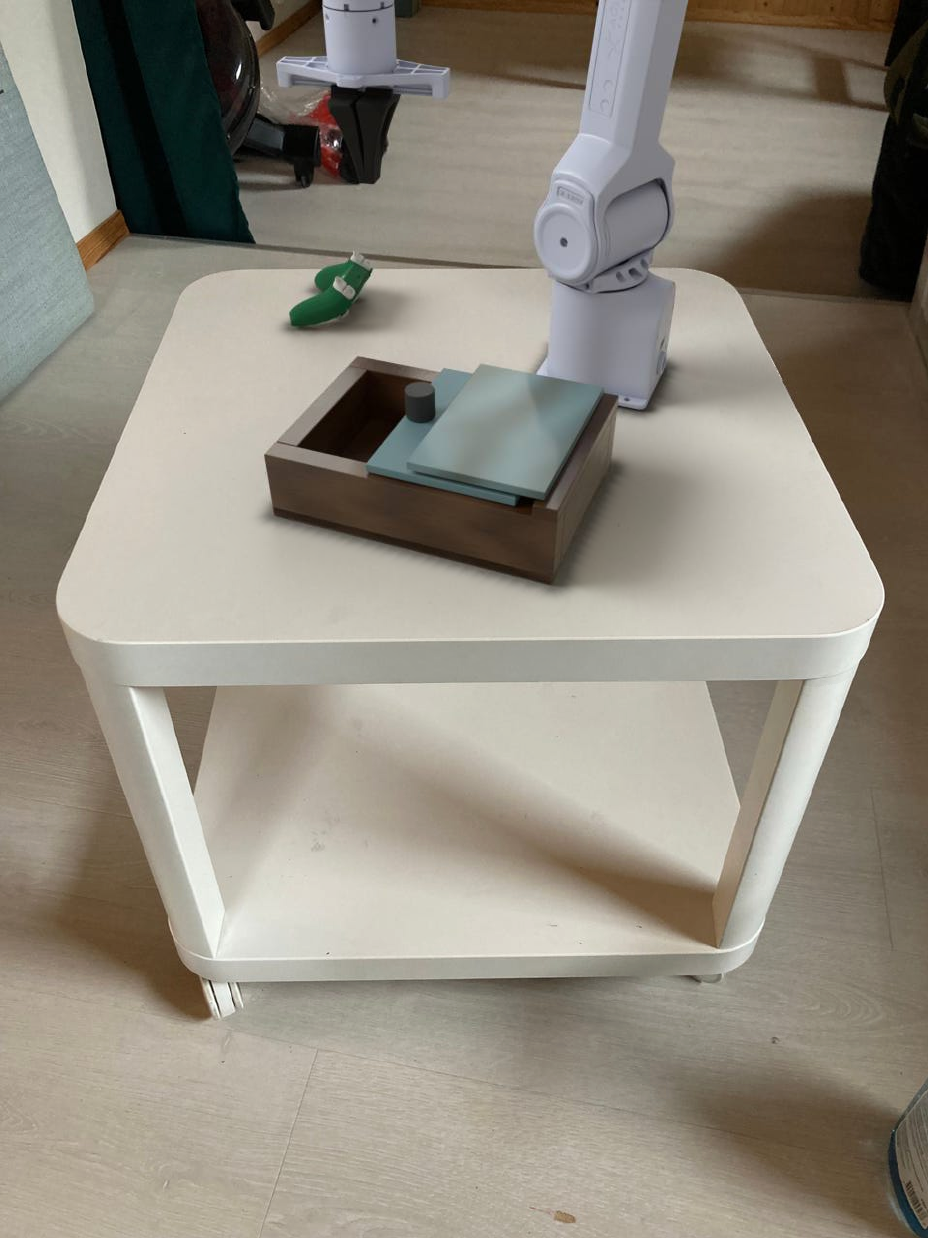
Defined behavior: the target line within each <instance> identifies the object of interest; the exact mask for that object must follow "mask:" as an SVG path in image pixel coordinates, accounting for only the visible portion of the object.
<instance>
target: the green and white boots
mask: <svg viewBox="0 0 928 1238" xmlns="http://www.w3.org/2000/svg"><path fill="white" fill-rule="evenodd" d="M373 270H374V268H373V265H372V263H371V262H370V261H369V259H367V258H365V256H364V255H362V254H361V253H360V252H358V250H353V252H352V255H351V256H350V257H348V259H347V261H346V262H342V263H336V264H332V265H327V266H325V267H323V268H322V269H321V270H319V271H318V272H317V273H316V274H315V277H314V279H313V280H314V284H315V286H316V288H317V289H318V290H319V291H322V292H320V293H317V294H315V295H314V296H311V297H309V298H307V299H304V300H302V301H301V302H299V303H297V304H296V305H294V306H293V308H291V309H290V311H289V313H288V314H289V320H290V326H291V327H294V328H295V327H296V328H302V327H303V328H304V327H311V326H313V327H314V326H317V325H320V324H324V323H327V322H329V321H332V320H334V319H337V318H339V319H341V320H343V319H344V318H345V317H346V316H347V315H348V314H349V309H350V308H351V307H352V306H353V304H354V303H355V302H356V300H357V299H358V297H359V294H360V292H361V291H362V290H363V288H364V286H365V285H366V283H367V282H368V280H369V279H370V277H371V274H372V273H373Z"/></svg>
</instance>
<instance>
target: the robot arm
mask: <svg viewBox="0 0 928 1238" xmlns="http://www.w3.org/2000/svg"><path fill="white" fill-rule="evenodd" d="M688 3H689V0H599V1H598V6H597V11H596V12H597V13H596V20H595V26H594V33H593V39H592V45H591V51H590V52H591V53H590V59H589V65H588V70H587V77H586V83H585V90H584V97H583V104H582V110H581V116H580V124H579V131H578V133H577V136H576V137H575V139H574V140H573V142H572V143H571V145H570V146H569V147H568V149H567V150H566V151H565V153H564V155H563V156H561V159H560V161H559V162H558V163H557V165H556V166H555V168H554V169H553V171H552V173H551V177H550V178H551V179H550V185H549V190H548V193H547V196H546V199H545V200H544V201H543V203H542V204H541V206H540V207H539V209H538V211H537V213H536V215H535V218H534V223H533V224H534V225H533V240H534V245H535V250H536V253H537V255H538V258H539V260H540V262H541V264H542V265H543V267H544V268H545V269H546V271H547V277H548V278H549V279H552V280H551V297H550V311H549V312H550V314H549V327H548V329H549V330H548V343H547V344H548V345H547V356H546V357H545V359H544V361H543V362H542V364H541V365H540V367H539V368H538V370H537V372H535V374H537V375H543V376H548V377H553V378H558V379H563V380H569V381H574V382H579V383H584V384H589V385H595V386H600V387H604V392H603V393H608V394H613V395H618V396H619V400H618V407H619V406H620V407H624V408H629V409H635V410H644V409H646V408H647V406H648V403H649V402H650V399H651V397H652V396H653V393H654V391H655V389H656V388H657V385H658V383H659V381H660V378H661V377H662V375H663V374H664V370H665V368H666V366H667V356H668V354H667V353H668V347H669V340H670V334H671V327H672V322H673V321H672V320H673V314H674V307H675V301H676V282H675V281H673V280H671V279H666V278H664V277H661V276H658V275H657V274H655V273H654V272H651V271H650V270H649V269H650V266H651V265H652V264H653V260H654V252H655V248H657V247H659V246H660V245H661V244H663V242H664V241H665V240H666V239H667V237H669V235H670V233H671V230H672V228H673V225H674V220H675V211H676V210H675V200H674V195H673V188H672V187H673V186H672V184H673V176H674V171H675V166H676V161H675V159H674V157H673V156H672V154H671V153H670V152H669V151H668V150H667V149H666V148H665V147H664V146H663V144H661V143H660V141H659V140H660V135H661V131H662V126H663V120H664V116H665V111H666V107H667V101H668V97H669V92H670V88H671V83H672V78H673V73H674V70H675V65H676V59H677V54H678V50H679V46H680V42H681V41H680V40H681V35H682V31H683V27H684V21H685V17H686V12H687V9H688V8H687V7H688ZM321 4H322V14H323V15H322V16H323V28H324V39H325V49H326V56H325V55H323V56H283V57H282V58H281V59H279V60H278V61H277V62H275V65H276V73H277V83H278V87H279V88H280V89H292V88H293V87H298V88H299V87H300V88H301V87H302V88H314V89H327V90H330V94H329V97H330V98H328V100H327V101H326V105H327V110H328V113H329V114H330V115H331V117H332V119H333V120H334V122H335V124H336V125H337V127H338V130H339V131H340V133H341V134H342V136H343V139H344V141H345V143H346V146H347V148H348V151H349V153H350V156H351V158H352V162H353V165H354V168H355V171H356V176H357V179H358V183H359V184H365V185H376V183H377V182H378V181H379V179H380V178H381V172H382V163H383V156H384V150H385V145H386V141H387V136H388V134H389V130H390V127H391V124H392V120H393V117H394V115H395V112H396V110H397V107H398V104H399V102H400V100H401V97H402V95H406V96H407V95H408V96H421V97H432V99H433V100H438V101H439V100H440V101H444V100H446V99H447V98H448V97H449V95H450V94H451V68H450V67H446V66H445V67H443V66H436V65H435V66H434V65H428V64H423V63H418V62H413V61H408V60H407V61H406V60H402V59H398V58H397V35H396V32H397V31H396V11H395V9H396V8H395V0H322V1H321Z"/></svg>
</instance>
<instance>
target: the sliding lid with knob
mask: <svg viewBox="0 0 928 1238" xmlns="http://www.w3.org/2000/svg"><path fill="white" fill-rule="evenodd" d="M439 372H440V373H439V374H438V375H437V377H436V378H435V379H434V380H433V382H432V383H431V384H429V383H426V382H414V383H411V384H409V385H407V386H406V388H405V409H406V415H405V416H404V418H403V419H402V420H401V421H400V423H399V424H398V425H397V426H396V427H395V429H394V430H393V431H392V432H391V434H390V435H389V436H388V437H387V439H386V440H385V441H384V442H383V444H382V445H381V446H380V447H379V449H378V450H377V451H376V452H375V453H374V455H373V456H372V457H371V458H370V460H369V461H368V462H367V463H366V471H367V472H370V473H374V474H378V475H383V476H387V477H391V478H396V479H400V480H404V481H409V482H413V483H417V484H422V485H426V486H430V487H435V488H439V489H443V490H447V491H452V492H456V493H460V494H465V495H469V496H473V497H478V498H482V499H486V500H491V501H495V502H499V503H504V504H508V505H512V506H515V505H516V503H517V502H518V500H519V498H520V497H521V495H517V494H513V493H508V492H504V491H500V490H495V489H491V488H487V487H482V486H478V485H473V484H469V483H465V482H460V481H456V480H452V479H447V478H443V477H438V476H434V475H430V474H425V473H421V472H416V471H412V470H408V469H407V465H406V462H407V460H408V459H409V457H410V456H411V455H412V454H413V452H414V451H415V450H416V448H417V447H418V446H419V444H420V443H421V442H422V440H423V439H424V438H425V436H426V435H427V434H428V432H429V431H430V430H431V428H432V427H433V426H434V424H435V423H436V422H437V421H438V419H439V418H440V417H441V415H442V414H443V413H444V411H445V410H446V409H447V407H448V406H449V405H450V403H451V402H452V401H453V399H454V398H455V397H456V395H457V394H458V393H459V392H460V390H461V389H462V388H463V386H464V385H465V384H466V382H467V381H468V380H469V378H470V377H471V376H472V374H473V373H474V372H473V373H472V372H467V371H463V370H458V369H452V368H446V367H443V368H442V369H441V371H439Z"/></svg>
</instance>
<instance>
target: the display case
mask: <svg viewBox="0 0 928 1238" xmlns="http://www.w3.org/2000/svg"><path fill="white" fill-rule="evenodd" d="M440 372H441V371H437V370H431V369H427V368H421V367H415V366H411V365H406V364H401V363H395V362H392V361H391V362H390V361H385V360H380V359H375V358H370V357H365V356H360V355H358V356H356V357H355V358H354V359H353V360H352V361H351V362H350V363H349V365H347V366H346V367H345V369H343V371H342V372H341V373H340V374H339V375H338V376H337V377H336V378H335V379H334V380H333V381H332V382H331V383H330V385H329V386H327V388H326V389H325V390H324V391H323V392H322V393H321V394H320V395H319V396H318V397H317V398H316V399H315V400H314V402H312V404H310V406H309V407H308V408H307V409H306V410H305V411H304V412H302V414H300V416H299V417H298V418H297V419H296V420H295V421H294V422H293V423H292V424H291V425H290V426H289V427H288V429H287V430H286V431H285V432H284V433H283V434H282V435H281V436H280V437H279V438H278V439H277V440H276V441H275V442H274V443H273V444H272V445H271V446H270V447H269V448H268V450H266V452H265V453H264V454H263V458H264V463H265V469H266V470H265V471H266V476H267V481H268V487H269V494H270V498H271V499H270V500H271V505H272V511H273V516H274V517H279V518H283V519H287V520H291V521H295V522H299V523H303V524H307V525H311V526H315V527H318V528H323V529H326V530H331V531H334V532H339V533H342V534H346V535H350V536H355V537H358V538H362V539H366V540H371V541H375V542H379V543H383V544H386V545H390V546H394V547H398V548H402V549H406V550H409V551H413V552H418V553H422V554H425V555H429V556H433V557H438V558H442V559H446V560H450V561H454V562H458V563H461V564H466V565H468V566H469V565H470V566H473V567H477V568H481V569H486V570H490V571H494V572H497V573H501V574H505V575H510V576H513V577H516V578H517V577H518V578H522V579H526V580H530V581H533V582H537V583H541V584H545V585H549V586H553V584H554V582H555V581H556V579H557V577H558V574H559V573H560V571H561V568H562V567H563V564H564V562H565V560H566V558H567V556H568V554H569V552H570V550H571V548H572V546H573V544H574V542H575V539H576V538H577V536H578V534H579V531H580V530H581V528H582V526H583V523H584V521H585V519H586V517H587V516H588V513H589V511H590V509H591V507H592V506H593V503H594V501H595V499H596V497H597V495H598V494H599V491H600V489H601V487H602V484H603V482H604V480H605V479H606V477H607V474H608V473H609V470H610V468H611V467H612V466H611V465H612V457H613V448H614V440H615V433H616V432H615V431H616V423H617V415H618V408H619V405H618V400H619V396H618V395H613V394H608V393H603V392H604V387H600V386H595V385H589V384H584V383H579V382H574V381H569V380H563V379H558V378H553V377H548V376H543V375H537V374H536V373H532V372H526V371H521V370H516V369H512V368H506V367H500V366H495V365H490V364H486V363H480V364H479V365H478V366H477V367H476V369H475V370H474V371H473V374H472V376H471V377H470V378H469V380H468V381H467V382H466V384H465V385H464V386H463V388H462V389H461V390H460V392H459V393H458V394H457V395H456V397H455V398H454V399H453V401H452V402H451V403H450V405H449V406H448V407H447V409H446V410H445V411H444V413H443V414H442V415H441V417H440V418H439V419H438V421H437V422H436V423H435V424H434V426H433V427H432V428H431V430H430V431H429V432H428V434H427V435H426V436H425V438H424V439H423V440H422V442H421V443H420V444H419V446H418V447H417V448H416V450H415V451H414V452H413V454H412V455H411V456H410V457H409V459H408V460H407V462H406V465H407V469H408V470H412V471H416V472H421V473H425V474H430V475H434V476H438V477H443V478H447V479H452V480H456V481H460V482H465V483H469V484H473V485H478V486H482V487H487V488H491V489H495V490H500V491H504V492H508V493H513V494H517V495H521V497H520V498H519V500H518V502H517V503H516V505H515V506H512V505H508V504H504V503H499V502H495V501H491V500H486V499H482V498H478V497H473V496H469V495H465V494H460V493H456V492H452V491H447V490H443V489H439V488H435V487H430V486H426V485H422V484H417V483H413V482H409V481H404V480H400V479H396V478H391V477H387V476H383V475H378V474H374V473H370V472H367V471H366V463H367V462H368V461H369V460H370V458H371V457H372V456H373V455H374V453H375V452H376V451H377V450H378V449H379V447H380V446H381V445H382V444H383V442H384V441H385V440H386V439H387V437H388V436H389V435H390V434H391V432H392V431H393V430H394V429H395V427H396V426H397V425H398V424H399V423H400V421H401V420H402V419H403V418H404V416H405V415H406V409H405V388H406V386H407V385H409V384H411V383H414V382H426V383H429V384H431V383H432V382H433V380H434V379H435V378H436V377H437V375H438V374H439V373H440Z"/></svg>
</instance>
